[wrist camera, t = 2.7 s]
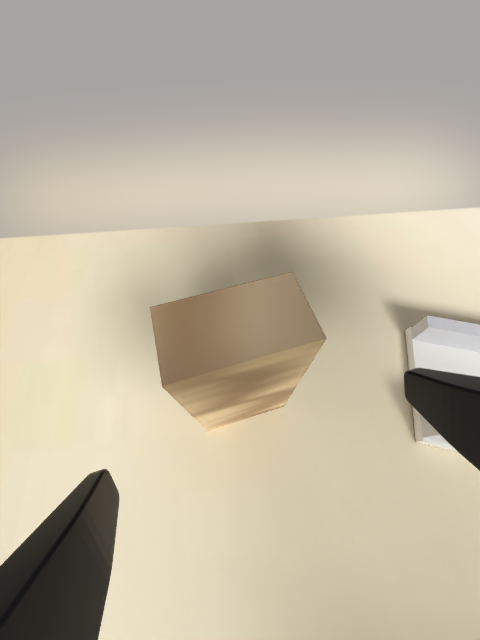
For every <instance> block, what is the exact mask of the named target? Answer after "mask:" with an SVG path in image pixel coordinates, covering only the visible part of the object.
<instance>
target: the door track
mask: <svg viewBox="0 0 480 640" xmlns="http://www.w3.org/2000/svg"><path fill="white" fill-rule="evenodd" d="M405 333H406V343H407V354H408V365H409V370H411V369H414V368H425V369H432V370H438V371H445V372H451V373H458V374H464V375H471V376H477V377H480V325H479V324H474V323H468V322H462V321H457V320H451V319H445V318H440V317H434V316H428V315H426V316H425V317H424V318H423V319H422V320H421V321H419V322H418V323H417V324H416V325H415V326H413V327H412V326H411V327H409V328H408V329H407V330H406V331H405ZM412 408H413V418H414V429H415V440H416V442H417V443H421V444H425V445H429V446H434V447H438V448H442V449H446V450H451V451H455V452H458V451H457V450H456V449H455V448H453V447H452V446H451V445H450V444H449V443H448V442H447V441H446V440H445V439H444V438H443V437H442V436H441V435H440V434H439V433H438V432H437V431H436V430H435V429H434V428H433V427H432V426H431V425H430V424H429V423H428V422H427V421H426V420H425V419H424V417H423V416H422V415H421V414H420V413H419V412H418V411H417V410H416V409H415V408H414V407H413V406H412Z"/></svg>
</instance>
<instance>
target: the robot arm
mask: <svg viewBox="0 0 480 640" xmlns="http://www.w3.org/2000/svg"><path fill="white" fill-rule="evenodd" d="M404 388H405V397H406V399H407V400H408V402H409V403H410V404H411V405H412V406H413V407H414V408H415V409H416V410H417V411H418V412H419V413H420V414H421V415H422V416H423V417H424V419H425V420H426V421H427V422H428V423H429V424H430V425H431V426H432V427H433V428H434V429H435V430H436V431H437V432H438V433H439V434H440V435H441V436H442V437H443V438H444V439H445V440H446V441H447V442H448V443H449V444H450V445H451V446H452V447H453V448H455V449H456V450H457V451H458V452H459V453H460V454H461V455H462V456H464V457H465V458H466V459H467V460H468V461H469V462H470V463H472V464H473V465H474V466H475V467H476V468H477V469H478V470H479V471H480V377H477V376H471V375H464V374H458V373H451V372H445V371H438V370H432V369H425V368H414V369H411V370H408V371H406V372H405V374H404ZM118 508H119V493H118V490H117V488H116V485H115V483H114V481H113V479H112V477H111V475H110V473H109V471H108V470H106V469H102V470H99V471H96V472H93V473H91V474H89V475H88V476H87V477H86V478H85V479H84V480H83V481H82V482H81V483H80V484H79V485H78V486H77V487H76V488H75V489H74V490H73V491H72V492H71V493H70V494H69V495H68V497H67V498H66V499H65V500H64V501H63V502H62V503H61V504H60V505H59V506H58V507H57V508H56V509H55V510H54V511H53V512H52V513H51V514H50V515H49V516H48V517H47V518H46V519H45V520H44V521H43V522H42V523H41V524H40V526H39V527H38V528H37V529H36V530H35V531H34V532H33V533H32V534H31V535H30V536H29V537H28V538H27V539H26V540H25V541H24V542H23V543H22V544H21V545H20V546H19V547H18V548H17V549H16V550H15V551H14V552H13V553H12V555H11V556H10V557H9V558H8V559H7V560H6V561H5V562H4V563H3V564H2V565H1V566H0V640H98V636H99V631H100V626H101V621H102V616H103V611H104V606H105V601H106V596H107V591H108V586H109V581H110V576H111V570H112V562H113V554H114V545H115V536H116V527H117V517H118Z"/></svg>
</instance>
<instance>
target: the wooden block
mask: <svg viewBox="0 0 480 640" xmlns="http://www.w3.org/2000/svg"><path fill="white" fill-rule="evenodd" d="M150 309H151V316H152V323H153V329H154V336H155V343H156V349H157V356H158V363H159V369H160V376H161V383H162V387H163V388H164V389H165V390H166V391H167V392H168V393H169V394H170V395H171V396H172V397H173V398H174V399H175V400H177V401H178V402H179V403H180V404H181V405H182V406H183V407H184V408H185V409H186V410H187V411H188V412H189V413H190V414H191V415H192V416H193V417H194V418H195V419H196V420H197V421H198V422H199V423H200V424H201V425H202V426H203V427H204V428H205V429H206V430H207V431H208V430H212V429H215V428H218V427H221V426H224V425H227V424H230V423H233V422H236V421H239V420H243V419H246V418H249V417H252V416H255V415H258V414H261V413H264V412H267V411H270V410H274V409H277V408H280V407H283V406H284V405H285V403H286V402H287V400H288V398H289V397H290V395H291V394H292V392H293V391H294V389H295V387H296V386H297V384H298V383H299V381H300V379H301V378H302V376H303V375H304V373H305V372H306V370H307V368H308V367H309V365H310V364H311V362H312V360H313V359H314V357H315V356H316V354H317V353H318V351H319V349H320V348H321V346H322V345H323V343H324V342H325V340H326V336H325V334H324V332H323V330H322V329H321V327H320V325H319V323H318V321H317V319H316V317H315V315H314V313H313V311H312V309H311V307H310V306H309V304H308V302H307V300H306V298H305V296H304V294H303V292H302V290H301V288H300V286H299V284H298V283H297V281H296V279H295V277H294V275H293V273H292V272H289V273H285V274H281V275H277V276H273V277H269V278H265V279H261V280H257V281H253V282H249V283H245V284H241V285H237V286H233V287H229V288H225V289H221V290H217V291H213V292H209V293H205V294H201V295H197V296H193V297H189V298H185V299H181V300H177V301H173V302H169V303H165V304H161V305H157V306H153V307H150Z"/></svg>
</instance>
